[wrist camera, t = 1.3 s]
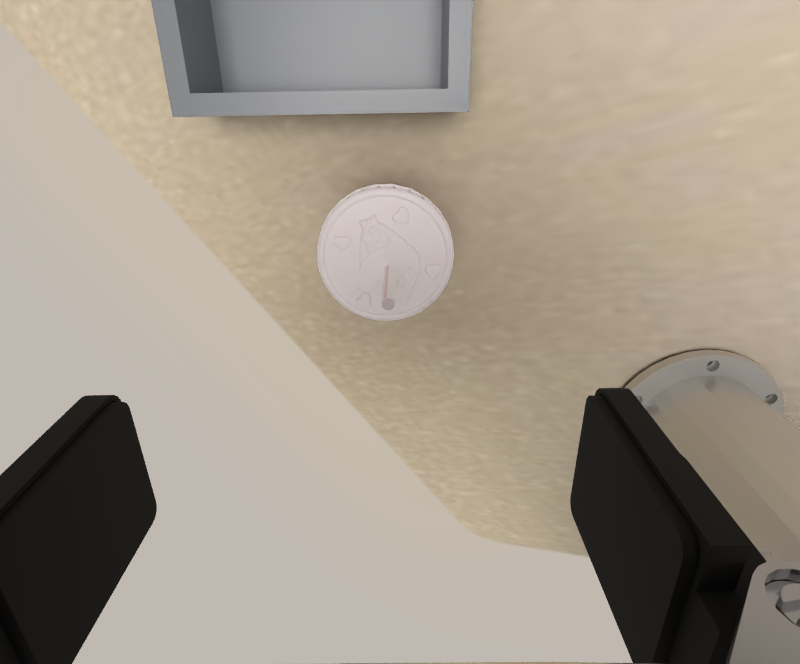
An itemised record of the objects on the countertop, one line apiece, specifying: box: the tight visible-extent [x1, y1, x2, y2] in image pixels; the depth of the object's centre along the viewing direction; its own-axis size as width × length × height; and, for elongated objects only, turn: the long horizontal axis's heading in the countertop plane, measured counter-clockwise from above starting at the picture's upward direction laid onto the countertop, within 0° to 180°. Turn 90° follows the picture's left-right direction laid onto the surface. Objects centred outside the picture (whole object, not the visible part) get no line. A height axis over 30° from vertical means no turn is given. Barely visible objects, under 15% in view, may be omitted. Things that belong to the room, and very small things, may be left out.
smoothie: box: [317, 184, 454, 321], centre depth 26 cm, size 6×6×14 cm
